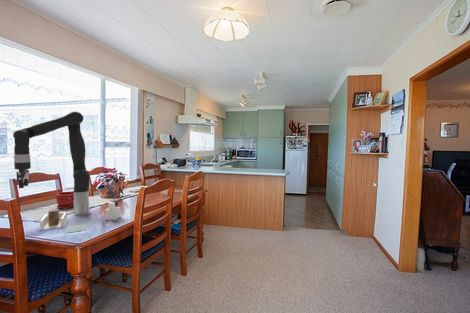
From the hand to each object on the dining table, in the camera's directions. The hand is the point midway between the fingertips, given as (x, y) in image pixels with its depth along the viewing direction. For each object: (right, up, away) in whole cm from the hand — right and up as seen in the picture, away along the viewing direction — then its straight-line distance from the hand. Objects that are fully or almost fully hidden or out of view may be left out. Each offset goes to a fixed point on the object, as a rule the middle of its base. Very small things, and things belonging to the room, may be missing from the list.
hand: (23, 186), depth 144 cm
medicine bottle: (+48, -25, +17) cm, 56 cm away
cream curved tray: (+19, -25, 0) cm, 31 cm away
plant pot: (-3, -23, +41) cm, 47 cm away
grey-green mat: (+37, -25, -5) cm, 45 cm away
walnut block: (+20, -24, -1) cm, 31 cm away
